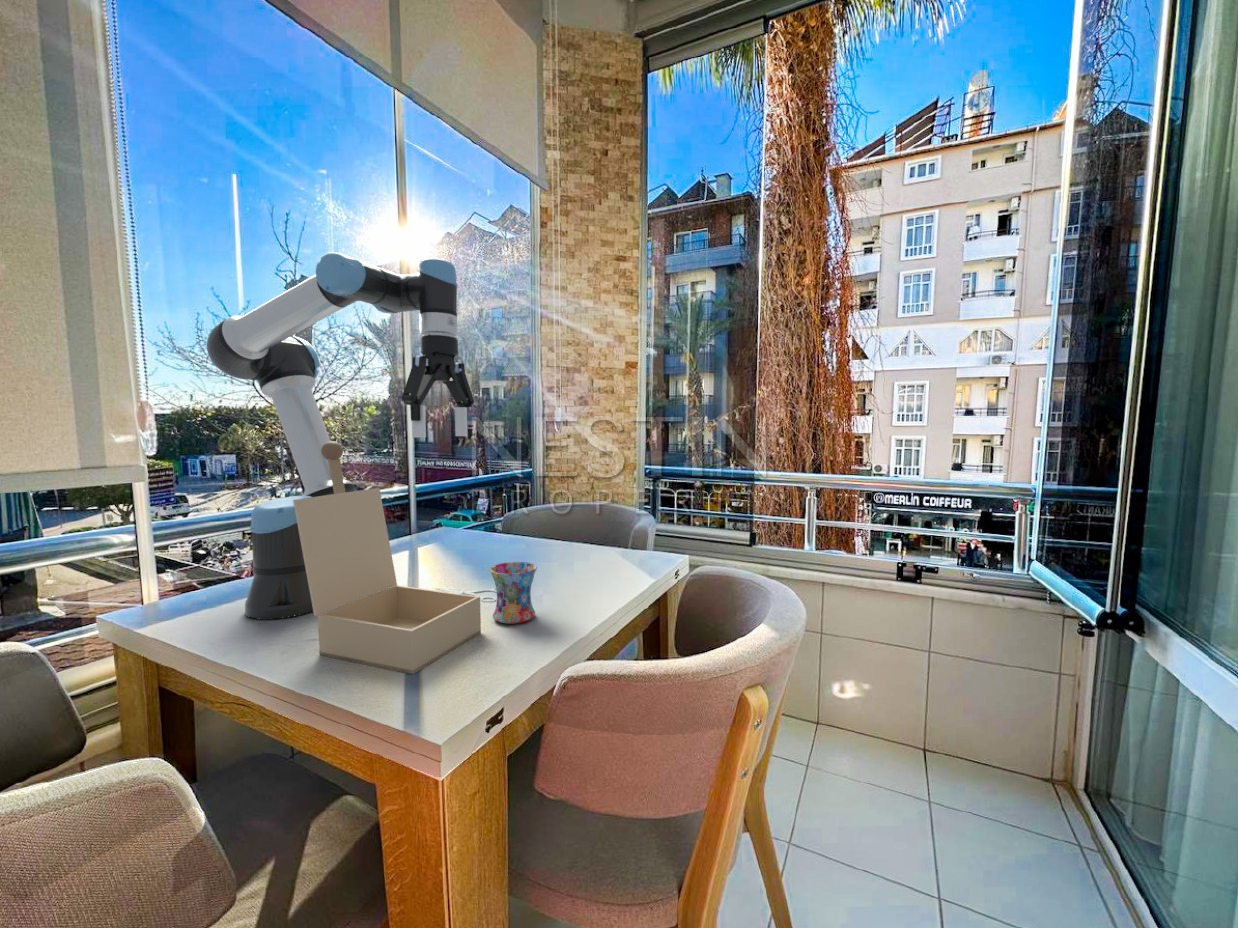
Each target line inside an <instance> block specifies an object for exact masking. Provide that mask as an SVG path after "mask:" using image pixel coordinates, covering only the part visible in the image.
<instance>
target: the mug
mask: <svg viewBox="0 0 1238 928" xmlns="http://www.w3.org/2000/svg"><path fill="white" fill-rule="evenodd" d="M537 568H538V567H537V565H536V564H534V563H532V562H528V561H509V562H503V563H502V562H501V563H498V564H494V565H493V566H491V567H490V569H489V572H490V574H491V576H492V579H493V581H494V584H495V588H496V590H497V593H496V605H495V609H494V611H493V614H492V618H493V619H494V621H496V622H499V623H503V624H510V625H511V624H513V625H514V624H521V623H525V622H528V621H529V620H531V619H533V618H534V617H535V615H536V611H535V609H534V606H533V603H532V595H531V591H532V584H533V581H534V577H535V573H536V571H537Z"/></svg>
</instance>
